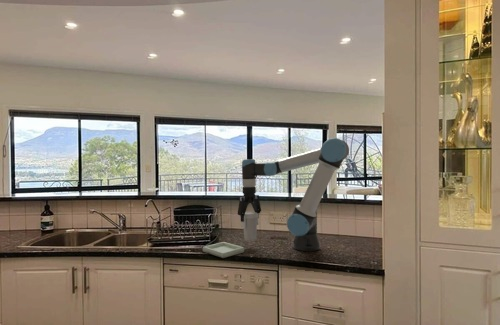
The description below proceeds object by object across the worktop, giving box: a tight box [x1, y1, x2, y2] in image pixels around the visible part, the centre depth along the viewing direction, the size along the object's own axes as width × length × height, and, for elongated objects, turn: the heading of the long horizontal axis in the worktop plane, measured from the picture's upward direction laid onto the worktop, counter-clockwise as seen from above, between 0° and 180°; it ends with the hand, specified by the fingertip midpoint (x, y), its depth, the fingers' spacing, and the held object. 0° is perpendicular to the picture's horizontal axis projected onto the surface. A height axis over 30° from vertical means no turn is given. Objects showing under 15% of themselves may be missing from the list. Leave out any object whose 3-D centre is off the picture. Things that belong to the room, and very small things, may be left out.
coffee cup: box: [242, 211, 258, 242], centre depth 183 cm, size 10×10×15 cm
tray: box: [202, 241, 245, 259], centre depth 176 cm, size 17×15×2 cm
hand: (250, 225), depth 183 cm, fingers closed on coffee cup, 9 cm apart
